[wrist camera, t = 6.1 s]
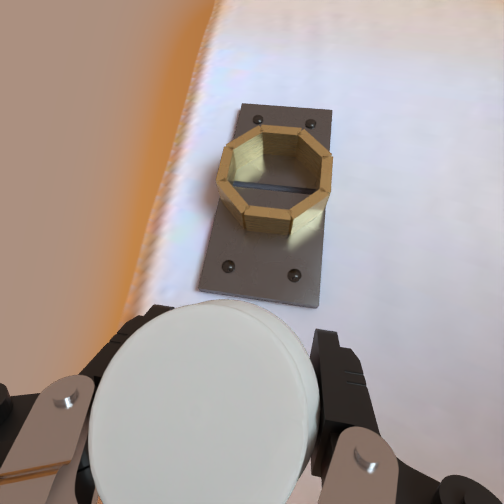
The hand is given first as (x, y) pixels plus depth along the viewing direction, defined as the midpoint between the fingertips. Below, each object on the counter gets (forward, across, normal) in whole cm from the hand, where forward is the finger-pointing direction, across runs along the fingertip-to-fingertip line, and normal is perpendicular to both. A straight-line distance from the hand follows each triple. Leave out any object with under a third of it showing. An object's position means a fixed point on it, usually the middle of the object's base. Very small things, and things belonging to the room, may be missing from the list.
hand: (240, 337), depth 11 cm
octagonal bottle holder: (+16, 0, -2) cm, 16 cm away
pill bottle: (+2, 0, +4) cm, 5 cm away
